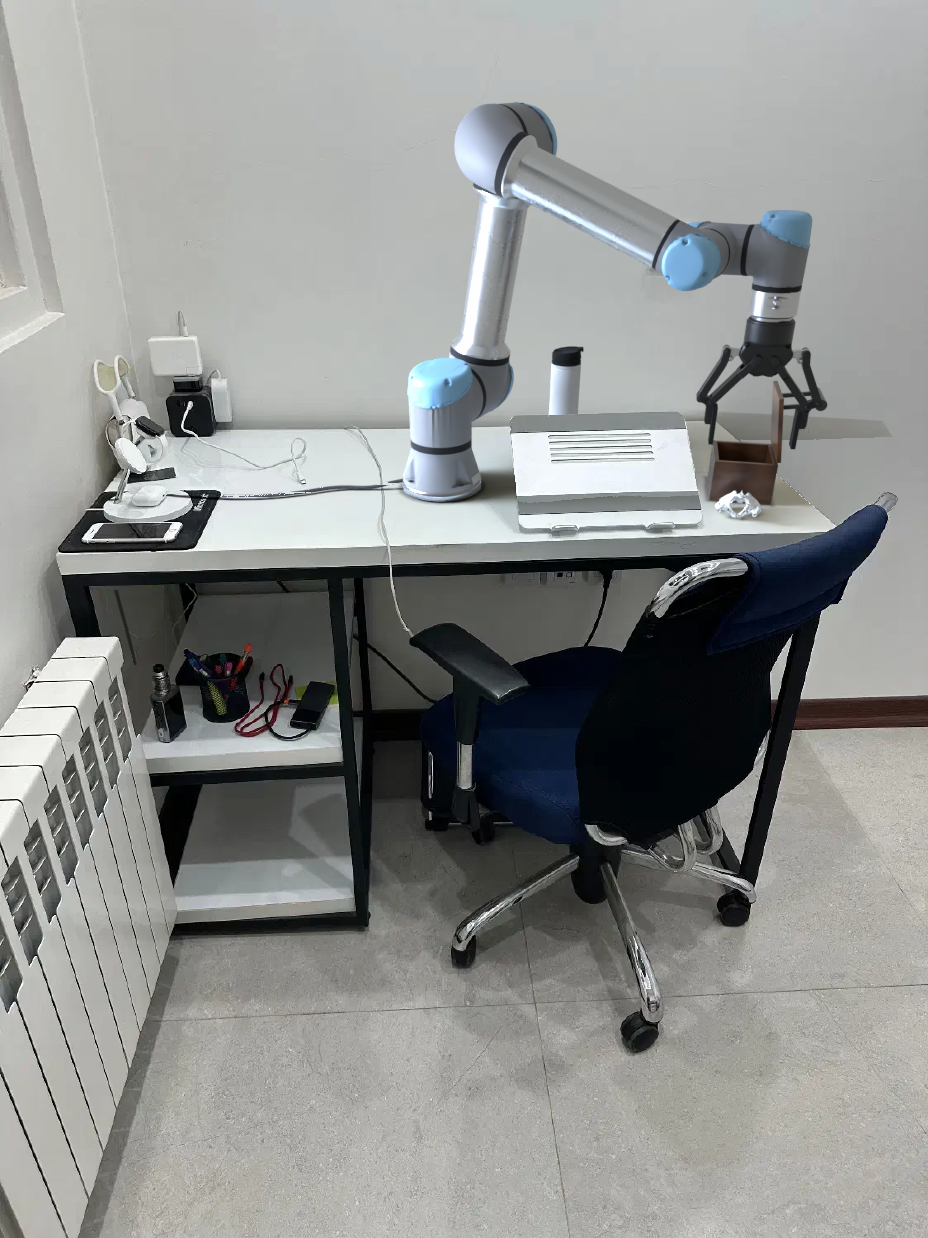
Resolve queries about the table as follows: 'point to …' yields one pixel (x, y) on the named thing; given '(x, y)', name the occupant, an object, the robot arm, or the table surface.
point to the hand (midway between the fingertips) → (750, 444)
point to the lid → (778, 416)
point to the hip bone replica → (751, 502)
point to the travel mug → (565, 380)
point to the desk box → (742, 470)
